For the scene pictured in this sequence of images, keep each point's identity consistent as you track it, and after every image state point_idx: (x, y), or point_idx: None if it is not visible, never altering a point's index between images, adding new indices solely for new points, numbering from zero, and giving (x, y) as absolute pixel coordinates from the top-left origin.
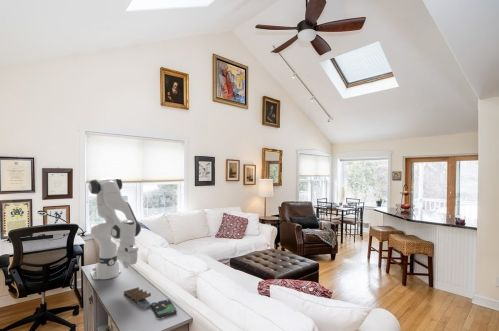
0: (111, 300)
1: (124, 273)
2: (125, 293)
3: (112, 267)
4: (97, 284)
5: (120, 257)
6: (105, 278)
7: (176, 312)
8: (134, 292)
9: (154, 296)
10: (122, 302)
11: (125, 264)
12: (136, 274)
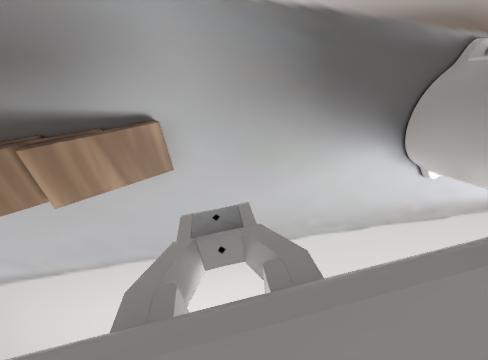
0: (91, 17)
1: (403, 187)
2: (130, 125)
3: (475, 145)
4: (402, 34)
5: (467, 291)
6: (426, 96)
7: None
8: None
9: (42, 240)
10: (15, 73)
11: (243, 245)
12: (354, 222)
